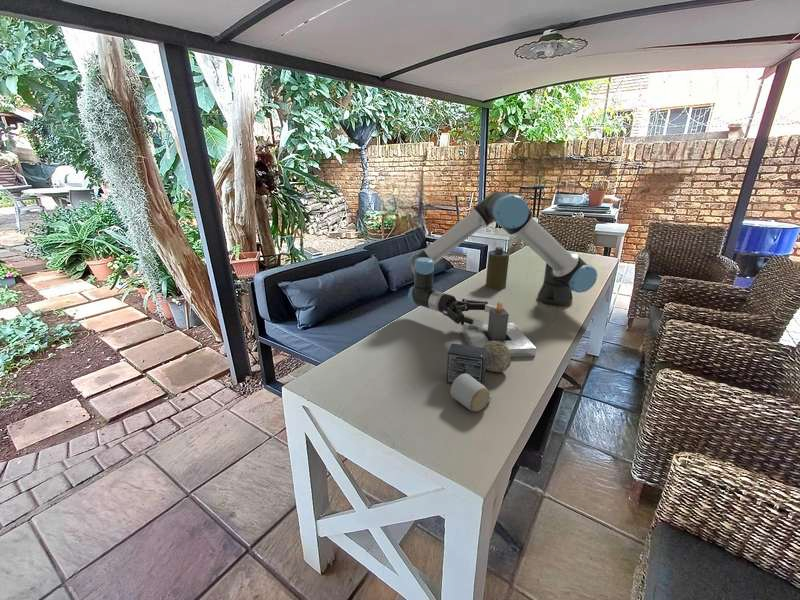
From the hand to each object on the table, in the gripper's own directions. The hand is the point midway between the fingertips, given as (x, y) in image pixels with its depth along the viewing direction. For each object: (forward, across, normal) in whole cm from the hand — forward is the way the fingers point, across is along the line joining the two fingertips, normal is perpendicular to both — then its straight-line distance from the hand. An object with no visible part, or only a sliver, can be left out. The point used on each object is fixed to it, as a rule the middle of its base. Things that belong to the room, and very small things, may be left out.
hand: (492, 318), depth 129 cm
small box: (+7, +27, -10) cm, 30 cm away
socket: (+2, 0, -9) cm, 9 cm away
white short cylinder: (+14, +35, -10) cm, 39 cm away
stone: (+10, +16, -10) cm, 21 cm away
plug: (+2, 0, -9) cm, 9 cm away
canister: (-28, -57, -9) cm, 64 cm away
